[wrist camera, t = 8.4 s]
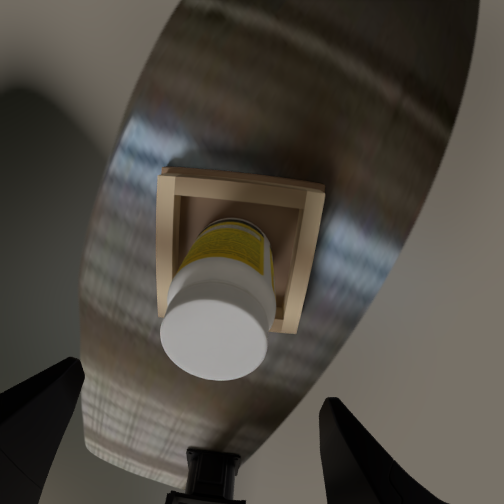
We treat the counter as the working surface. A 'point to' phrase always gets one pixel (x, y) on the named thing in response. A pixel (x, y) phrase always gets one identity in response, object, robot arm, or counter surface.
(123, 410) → the counter surface
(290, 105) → the counter surface
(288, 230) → the jig cradle
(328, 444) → the robot arm
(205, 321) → the supplement bottle
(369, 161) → the counter surface
